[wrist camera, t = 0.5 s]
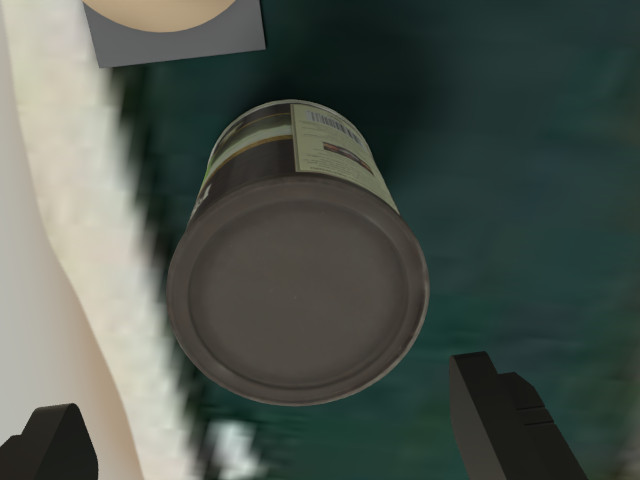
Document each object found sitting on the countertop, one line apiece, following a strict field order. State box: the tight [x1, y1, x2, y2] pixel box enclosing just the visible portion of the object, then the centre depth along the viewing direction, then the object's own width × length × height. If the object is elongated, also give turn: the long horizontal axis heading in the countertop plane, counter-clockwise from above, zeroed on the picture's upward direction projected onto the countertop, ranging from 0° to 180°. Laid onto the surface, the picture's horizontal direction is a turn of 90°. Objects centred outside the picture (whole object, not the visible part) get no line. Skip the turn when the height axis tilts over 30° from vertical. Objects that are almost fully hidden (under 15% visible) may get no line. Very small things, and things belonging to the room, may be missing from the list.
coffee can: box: [166, 99, 430, 406], centre depth 30 cm, size 10×10×14 cm
